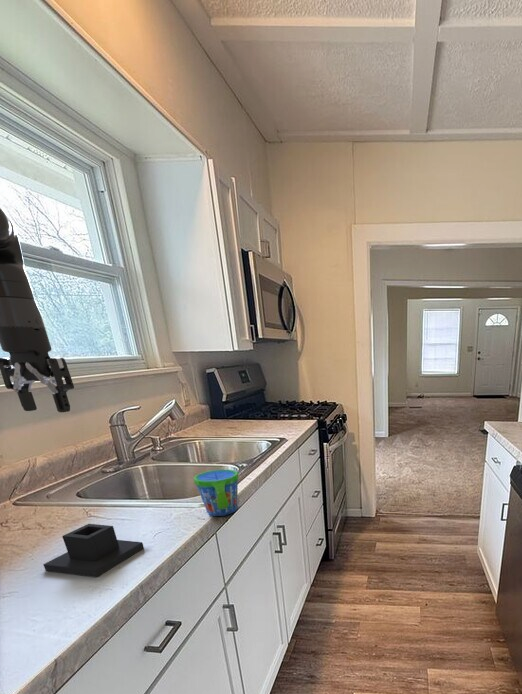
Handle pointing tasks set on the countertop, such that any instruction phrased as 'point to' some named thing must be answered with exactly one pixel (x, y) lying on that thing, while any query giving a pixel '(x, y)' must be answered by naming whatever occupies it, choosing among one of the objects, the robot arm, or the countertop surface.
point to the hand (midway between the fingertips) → (47, 411)
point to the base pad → (94, 567)
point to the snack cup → (218, 491)
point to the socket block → (91, 542)
